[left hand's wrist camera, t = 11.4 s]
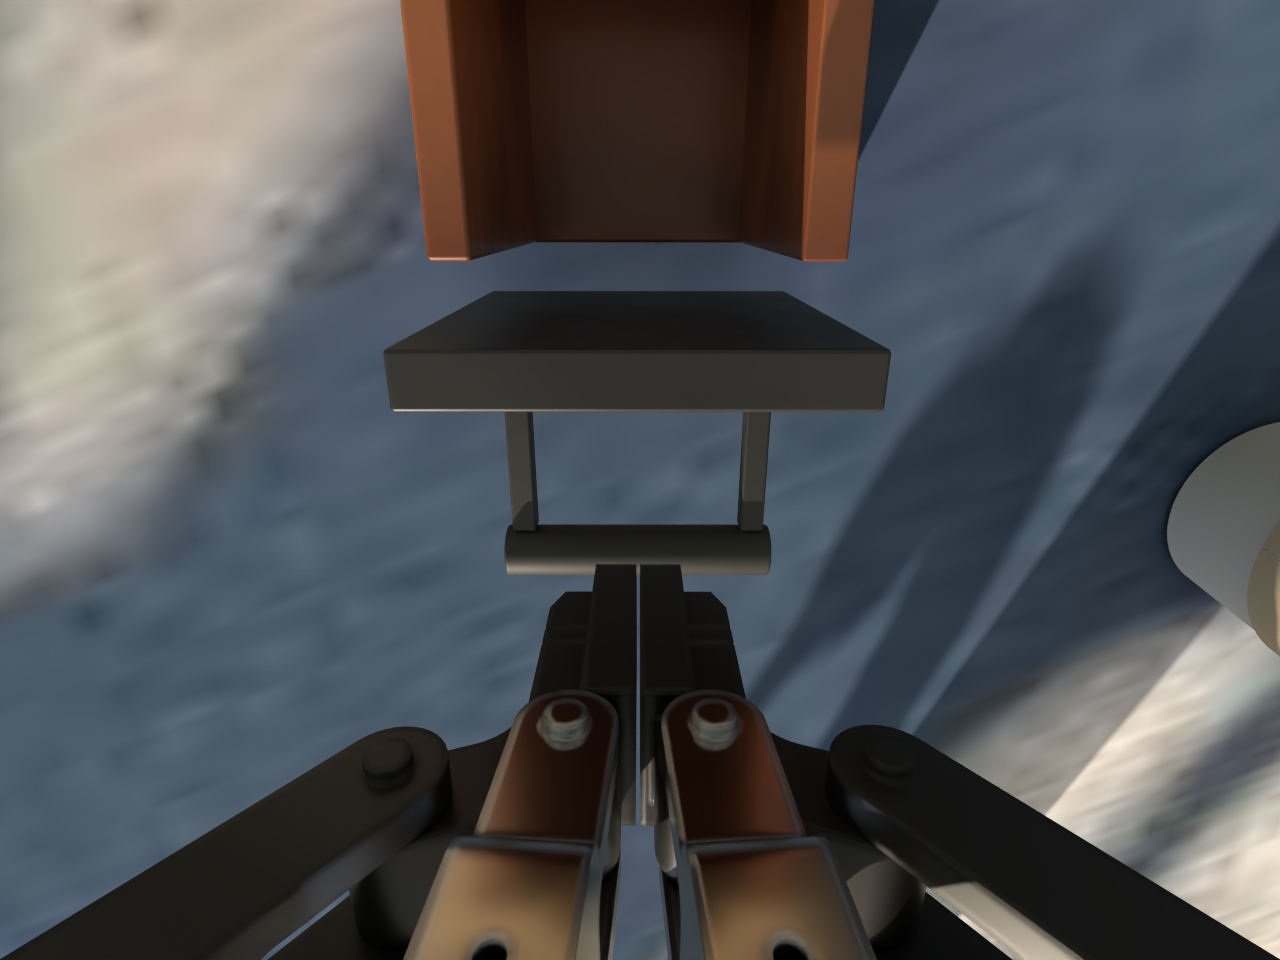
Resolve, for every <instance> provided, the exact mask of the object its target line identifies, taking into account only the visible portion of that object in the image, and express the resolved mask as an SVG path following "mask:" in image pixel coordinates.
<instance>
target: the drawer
mask: <svg viewBox="0 0 1280 960" xmlns="http://www.w3.org/2000/svg"><path fill="white" fill-rule="evenodd" d="M400 3H401V13H402V22H403V32H404V41H405V51H406V60H407V70H408V79H409V89H410V99H411V108H412V118H413V127H414V137H415V146H416V156H417V165H418V175H419V184H420V194H421V203H422V213H423V222H424V232H425V241H426V251H427V257H428V259H429V260H431V261H469V260H473V259H476V258H480V257H484V256H487V255H491V254H494V253H498V252H501V251H505V250H508V249H512V248H516V247H519V246H523V245H526V244H530V243H533V242H741V243H745V244H748V245H752V246H755V247H758V248H762V249H765V250H768V251H772V252H775V253H779V254H782V255H785V256H789V257H792V258H796V259H799V260H802V261H806V262H844V261H847V259H848V250H849V240H850V231H851V221H852V211H853V202H854V192H855V182H856V173H857V163H858V153H859V144H860V134H861V124H862V115H863V105H864V95H865V86H866V76H867V66H868V57H869V47H870V37H871V28H872V18H873V8H874V0H400ZM383 355H384V362H385V370H386V377H387V385H388V392H389V400H390V407H391V409H392V411H395V412H505V423H506V437H507V451H508V464H509V478H510V492H511V506H512V520H513V525H509V527H508V529H507V532H506V537H505V566H506V570H507V573H508V574H510V575H595V568H596V564H636V575H640V564H680V565H681V573H682V575H767V574H768V572H769V570H770V564H771V539H770V533H769V529H768V527H767V526H766V525H763V517H764V503H765V488H766V474H767V460H768V446H769V432H770V418H771V412H880V411H883V408H884V403H885V396H886V388H887V380H888V373H889V365H890V357H891V352H890V350H889V349H887V348H885V347H884V346H882V345H880V344H878V343H876V342H875V341H873V340H871V339H869V338H867V337H865V336H864V335H862V334H860V333H858V332H856V331H855V330H853V329H851V328H849V327H847V326H845V325H844V324H842V323H840V322H838V321H836V320H835V319H833V318H831V317H829V316H827V315H825V314H824V313H822V312H820V311H818V310H816V309H815V308H813V307H811V306H809V305H807V304H805V303H804V302H802V301H800V300H798V299H796V298H795V297H793V296H791V295H789V294H787V293H785V292H783V291H493V292H491V293H489V294H487V295H485V296H484V297H482V298H480V299H478V300H476V301H474V302H472V303H470V304H469V305H467V306H465V307H463V308H461V309H459V310H457V311H456V312H454V313H452V314H450V315H448V316H446V317H444V318H443V319H441V320H439V321H437V322H435V323H433V324H431V325H429V326H428V327H426V328H424V329H422V330H420V331H418V332H416V333H415V334H413V335H411V336H409V337H407V338H405V339H403V340H402V341H400V342H398V343H396V344H394V345H392V346H390V347H388V348H387V349H385V350H384V353H383ZM532 412H743V428H742V446H741V464H740V482H739V499H738V517H737V522H738V525H538V522H539V518H538V500H537V483H536V465H535V448H534V430H533V413H532Z"/></svg>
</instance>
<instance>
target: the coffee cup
mask: <svg viewBox="0 0 1280 960" xmlns="http://www.w3.org/2000/svg"><path fill="white" fill-rule="evenodd" d="M1167 541H1168V547H1169V551H1170V554H1171V557H1172V559H1173V561H1174V562H1175V564H1176V566H1177V567H1178V568H1179V569H1180V571H1181V572H1182V573H1183V574H1184V575H1186V576H1187V577H1188V578H1189V579H1191V580H1192V581H1193V582H1194V583H1196V584H1197V585H1198V586H1199V587H1201V588H1202V589H1203V590H1204V591H1206V592H1207V593H1208V594H1209V595H1211V596H1212V597H1213V598H1214V599H1216V600H1217V601H1218V602H1220V603H1221V604H1222V605H1223V606H1225V607H1226V608H1227V609H1228V610H1230V611H1231V612H1232V613H1233V614H1235V615H1236V616H1237V617H1238V618H1240V619H1241V620H1242V621H1243V622H1245V623H1246V624H1247V625H1249V626H1250V627H1251V628H1252V629H1254V630H1255V631H1256V633H1257V635H1258V636H1259V638H1260V639H1261V640H1262V641H1263V642H1264V643H1265V644H1266V645H1267V646H1268V647H1269V648H1270V649H1271V650H1272V651H1274V652H1275V653H1276V654H1277V655H1279V656H1280V422H1278V423H1273V424H1269V425H1265V426H1262V427H1259V428H1256V429H1253V430H1251V431H1248V432H1246V433H1244V434H1242V435H1240V436H1238V437H1236V438H1234V439H1232V440H1231V441H1229V442H1227V443H1226V444H1224V445H1223V446H1221V447H1220V448H1219V449H1217V450H1216V451H1215V452H1213V453H1212V454H1211V455H1210V456H1208V457H1207V458H1206V459H1205V460H1204V461H1203V462H1202V463H1201V464H1200V465H1199V466H1198V467H1197V468H1196V469H1195V470H1194V472H1193V473H1192V474H1191V475H1190V476H1189V478H1188V479H1187V480H1186V482H1185V483H1184V485H1183V486H1182V488H1181V490H1180V491H1179V493H1178V495H1177V497H1176V499H1175V501H1174V504H1173V506H1172V509H1171V512H1170V515H1169V520H1168V526H1167Z"/></svg>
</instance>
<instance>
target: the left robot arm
mask: <svg viewBox="0 0 1280 960" xmlns="http://www.w3.org/2000/svg"><path fill="white" fill-rule="evenodd" d="M636 684H637V576H636V564H596V568H595V576H594V584H593V592H565V593H564V594H563V595H562V596H561V597H560V598H559V599H558V600H557V601H556V602H555V603H554V604H553V605H552V606H551V607H550V611H549V615H548V620H547V624H546V630H545V633H544V637H543V645H542V646H541V651H540V655H539V659H538V664H537V668H536V673H535V677H534V681H533V686H532V690H531V694H530V699H529V703H527V704H526V705H525V706H524V707H523V708H522V709H521V710H520V711H519V713H518V714H517V716H516V718H515V720H514V722H513V725H512V727H511V728H509V729H508V730H506V731H505V732H504V733H502V734H500V735H498V736H496V737H494V738H492V739H489V740H487V741H484V742H480V743H477V744H473V745H469V746H465V747H461V748H457V749H453V750H447V747H446V744H445V743H444V741H443V740H442V739H441V738H440V737H439V736H438V735H437V734H435V733H433V732H431V731H429V730H426V729H423V728H418V727H395V728H390V729H385V730H382V731H378V732H375V733H373V734H370V735H368V736H366V737H364V738H362V739H360V740H358V741H357V742H355V743H353V744H352V745H350V746H349V747H347V748H345V749H344V750H342V751H340V752H339V753H337V754H335V755H334V756H332V757H331V758H329V759H327V760H326V761H324V762H322V763H321V764H319V765H317V766H316V767H314V768H312V769H311V770H309V771H308V772H306V773H304V774H303V775H301V776H299V777H298V778H296V779H294V780H293V781H291V782H290V783H288V784H286V785H285V786H283V787H281V788H280V789H278V790H276V791H275V792H273V793H272V794H270V795H268V796H267V797H265V798H263V799H262V800H260V801H258V802H257V803H255V804H254V805H252V806H250V807H249V808H247V809H245V810H244V811H242V812H240V813H239V814H237V815H236V816H234V817H232V818H231V819H229V820H227V821H226V822H224V823H222V824H221V825H219V826H218V827H216V828H214V829H213V830H211V831H209V832H208V833H206V834H204V835H203V836H201V837H200V838H198V839H196V840H195V841H193V842H191V843H190V844H188V845H186V846H185V847H183V848H182V849H180V850H178V851H177V852H175V853H173V854H172V855H170V856H168V857H167V858H165V859H164V860H162V861H160V862H159V863H157V864H155V865H154V866H152V867H150V868H149V869H147V870H146V871H144V872H142V873H141V874H139V875H137V876H136V877H134V878H132V879H131V880H129V881H128V882H126V883H124V884H123V885H121V886H119V887H118V888H116V889H114V890H113V891H111V892H109V893H108V894H106V895H105V896H103V897H101V898H100V899H98V900H96V901H95V902H93V903H91V904H90V905H88V906H87V907H85V908H83V909H82V910H80V911H78V912H77V913H75V914H73V915H72V916H70V917H69V918H67V919H65V920H64V921H62V922H60V923H59V924H57V925H55V926H54V927H52V928H51V929H49V930H47V931H46V932H44V933H42V934H41V935H39V936H37V937H36V938H34V939H33V940H31V941H29V942H28V943H26V944H24V945H23V946H21V947H19V948H18V949H16V950H15V951H13V952H11V953H10V954H8V955H6V956H5V957H3V958H1V959H0V960H261V959H262V958H263V957H264V956H265V955H266V954H267V953H268V952H269V951H270V950H272V949H273V948H274V947H275V946H277V945H278V944H279V943H280V942H282V941H283V940H284V939H286V938H287V937H288V936H290V935H291V934H292V933H293V932H295V931H296V930H297V929H299V928H300V927H301V926H302V925H304V924H305V923H306V922H308V921H309V920H310V919H311V918H313V917H314V916H315V915H317V914H318V913H319V912H320V911H322V910H323V909H324V908H326V907H327V906H328V905H330V904H331V903H332V902H333V901H335V900H336V899H337V898H339V897H340V896H341V895H342V894H344V893H345V892H346V891H348V890H349V893H350V896H348V897H347V898H346V899H345V900H343V901H342V902H341V903H339V904H338V905H337V906H336V907H334V908H333V909H332V910H330V911H329V912H328V913H327V914H325V915H324V916H323V917H322V918H320V919H319V920H318V921H316V922H315V923H314V924H313V925H311V926H310V927H309V928H307V929H306V930H305V931H304V932H302V933H301V934H300V935H299V936H297V937H296V938H295V939H293V940H292V941H291V942H290V943H288V944H287V945H286V946H284V947H283V948H282V949H281V950H279V951H278V952H277V953H276V954H274V955H273V956H272V957H270V958H269V959H268V960H612V952H613V943H614V934H615V926H616V917H617V908H618V899H619V890H620V881H621V856H620V846H621V825H635V817H636ZM640 826H654V838H655V854H656V858H657V861H658V863H659V881H660V890H661V899H662V908H663V917H664V926H665V934H666V943H667V952H668V960H1012V959H1011V958H1010V957H1008V956H1007V955H1006V954H1004V953H1003V952H1002V951H1001V950H999V949H998V948H997V947H996V946H994V945H993V944H992V943H990V942H989V941H988V940H987V939H985V938H984V937H983V936H981V935H980V934H979V933H978V932H976V931H975V930H974V929H973V928H971V927H970V926H969V925H967V924H966V923H965V922H964V921H962V920H961V919H960V918H958V917H957V916H956V915H955V914H953V913H952V912H951V911H950V910H948V909H947V908H946V907H944V906H943V905H942V904H941V903H939V902H938V901H937V900H935V899H934V898H933V897H932V896H930V895H929V894H928V893H927V892H926V887H929V888H930V889H931V890H932V891H934V892H935V893H936V894H938V895H939V896H940V897H941V898H943V899H944V900H945V901H947V902H948V903H949V904H950V905H952V906H953V907H954V908H956V909H957V910H958V911H959V912H961V913H962V914H963V915H965V916H966V917H967V918H969V919H970V920H971V921H972V922H974V923H975V924H976V925H978V926H979V927H980V928H981V929H983V930H984V931H985V932H987V933H988V934H989V935H990V936H992V937H993V938H994V939H996V940H997V941H998V942H999V943H1001V944H1002V945H1003V946H1004V947H1006V948H1007V949H1008V950H1009V951H1010V952H1011V953H1012V954H1013V955H1014V956H1015V957H1016V958H1017V959H1018V960H1280V959H1279V958H1277V957H1275V956H1274V955H1272V954H1270V953H1269V952H1267V951H1265V950H1264V949H1262V948H1261V947H1259V946H1257V945H1256V944H1254V943H1252V942H1251V941H1249V940H1247V939H1246V938H1244V937H1243V936H1241V935H1239V934H1238V933H1236V932H1234V931H1233V930H1231V929H1229V928H1228V927H1226V926H1225V925H1223V924H1221V923H1220V922H1218V921H1216V920H1215V919H1213V918H1211V917H1210V916H1208V915H1206V914H1205V913H1203V912H1202V911H1200V910H1198V909H1197V908H1195V907H1193V906H1192V905H1190V904H1188V903H1187V902H1185V901H1184V900H1182V899H1180V898H1179V897H1177V896H1175V895H1174V894H1172V893H1170V892H1169V891H1167V890H1166V889H1164V888H1162V887H1161V886H1159V885H1157V884H1156V883H1154V882H1152V881H1151V880H1149V879H1148V878H1146V877H1144V876H1143V875H1141V874H1139V873H1138V872H1136V871H1134V870H1133V869H1131V868H1130V867H1128V866H1126V865H1125V864H1123V863H1121V862H1120V861H1118V860H1116V859H1115V858H1113V857H1112V856H1110V855H1108V854H1107V853H1105V852H1103V851H1102V850H1100V849H1098V848H1097V847H1095V846H1094V845H1092V844H1090V843H1089V842H1087V841H1085V840H1084V839H1082V838H1080V837H1079V836H1077V835H1076V834H1074V833H1072V832H1071V831H1069V830H1067V829H1066V828H1064V827H1062V826H1061V825H1059V824H1058V823H1056V822H1054V821H1053V820H1051V819H1049V818H1048V817H1046V816H1044V815H1043V814H1041V813H1040V812H1038V811H1036V810H1035V809H1033V808H1031V807H1030V806H1028V805H1026V804H1025V803H1023V802H1022V801H1020V800H1018V799H1017V798H1015V797H1013V796H1012V795H1010V794H1008V793H1007V792H1005V791H1003V790H1002V789H1000V788H999V787H997V786H995V785H994V784H992V783H990V782H989V781H987V780H985V779H984V778H982V777H981V776H979V775H977V774H976V773H974V772H972V771H971V770H969V769H967V768H966V767H964V766H963V765H961V764H959V763H958V762H956V761H954V760H953V759H951V758H949V757H948V756H946V755H945V754H943V753H941V752H940V751H938V750H936V749H935V748H933V747H931V746H930V745H928V744H927V743H925V742H923V741H922V740H920V739H918V738H916V737H914V736H913V735H911V734H908V733H906V732H904V731H901V730H898V729H894V728H891V727H886V726H879V725H862V726H856V727H852V728H849V729H847V730H845V731H843V732H841V733H840V734H839V735H838V736H837V737H835V739H834V740H833V742H832V744H831V747H830V751H825V750H821V749H817V748H813V747H809V746H805V745H801V744H797V743H794V742H790V741H788V740H785V739H783V738H780V737H779V736H777V735H775V734H773V733H771V732H770V730H769V728H768V725H767V722H766V720H765V718H764V716H763V714H762V713H761V711H760V710H759V709H758V708H757V707H756V706H755V705H754V704H753V703H751V702H750V701H748V700H747V699H746V697H745V692H744V688H743V683H742V679H741V674H740V669H739V665H738V660H737V656H736V651H735V647H734V645H733V637H732V633H731V630H730V624H729V619H728V615H727V610H726V607H725V606H724V605H723V604H722V603H721V602H720V601H719V600H718V599H717V598H716V597H715V596H714V595H713V594H712V593H711V592H684V590H683V582H682V573H681V565H680V564H640Z"/></svg>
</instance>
